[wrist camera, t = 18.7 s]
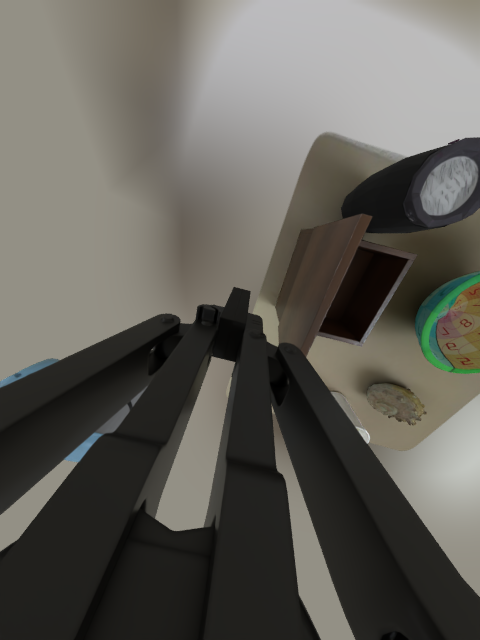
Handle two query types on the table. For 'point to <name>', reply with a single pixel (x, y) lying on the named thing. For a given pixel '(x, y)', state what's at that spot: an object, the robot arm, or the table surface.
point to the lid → (320, 279)
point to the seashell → (395, 402)
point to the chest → (354, 289)
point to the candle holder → (351, 415)
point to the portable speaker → (421, 190)
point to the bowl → (452, 325)
